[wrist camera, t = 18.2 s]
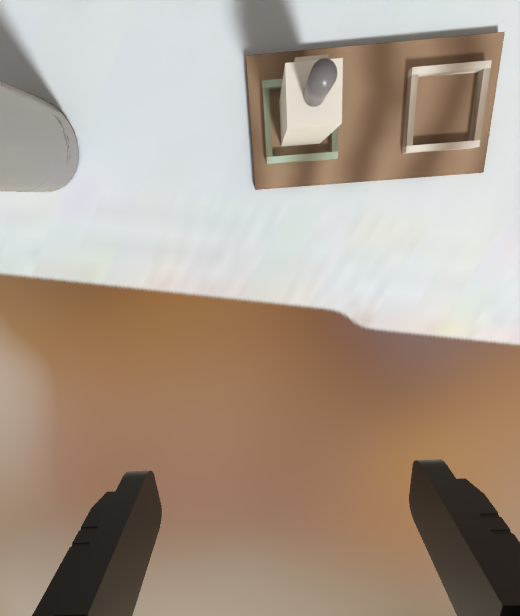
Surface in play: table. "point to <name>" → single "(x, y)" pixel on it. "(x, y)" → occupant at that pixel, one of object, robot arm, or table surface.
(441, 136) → the walnut port board
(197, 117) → the table surface
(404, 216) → the table surface
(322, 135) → the cream block with handle
